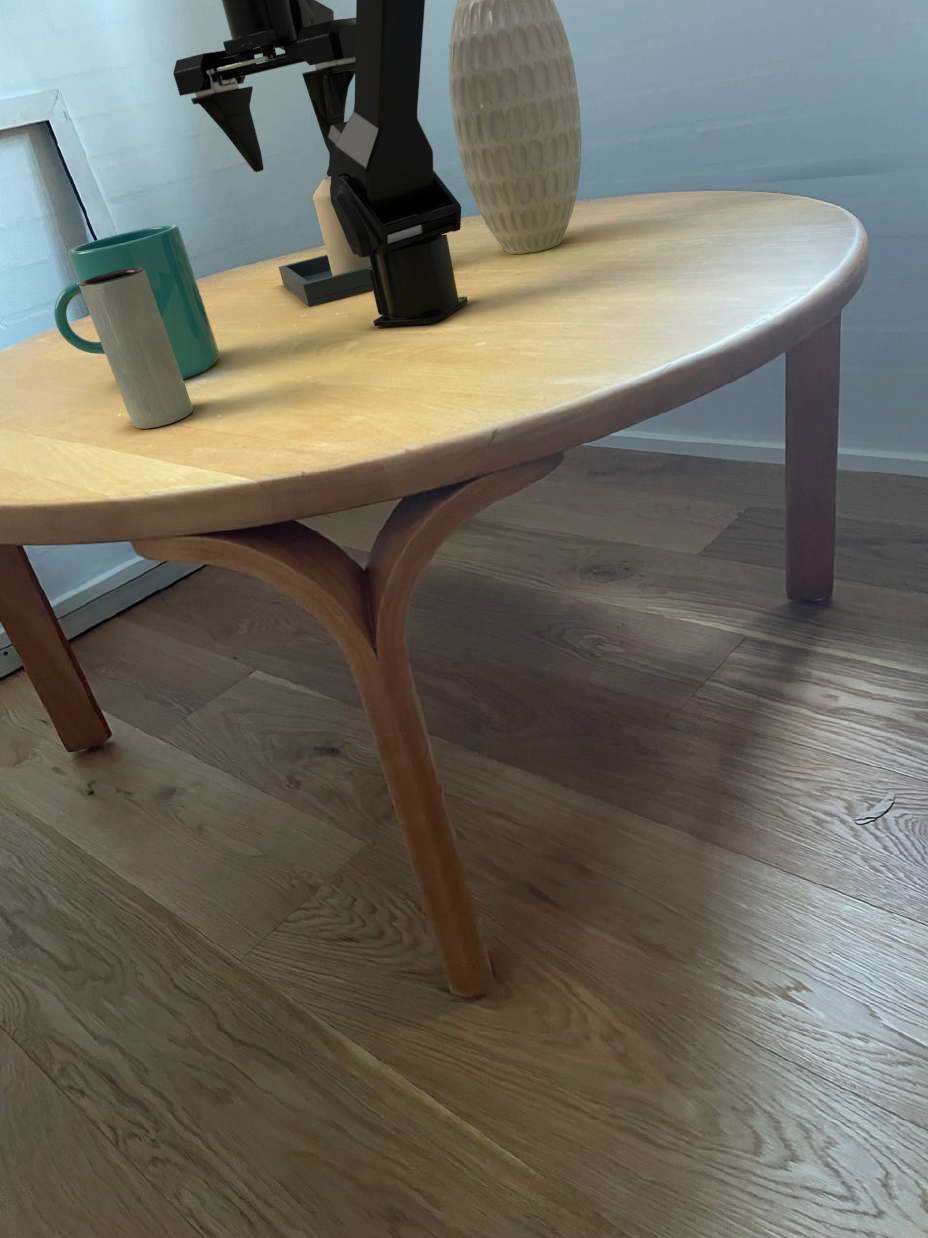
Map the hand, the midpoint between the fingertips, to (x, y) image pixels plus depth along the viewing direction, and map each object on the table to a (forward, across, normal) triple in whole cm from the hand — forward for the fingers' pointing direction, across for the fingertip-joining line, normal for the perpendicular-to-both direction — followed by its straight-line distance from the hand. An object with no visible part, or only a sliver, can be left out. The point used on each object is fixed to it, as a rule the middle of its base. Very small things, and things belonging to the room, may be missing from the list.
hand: (297, 164), depth 85 cm
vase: (+13, -14, -19) cm, 27 cm away
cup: (+13, +5, +20) cm, 25 cm away
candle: (+13, +4, -11) cm, 17 cm away
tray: (+13, +4, -11) cm, 17 cm away
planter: (+13, -5, +30) cm, 33 cm away
